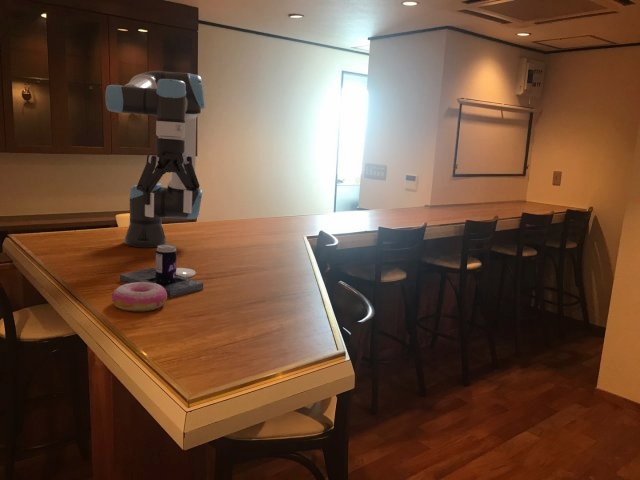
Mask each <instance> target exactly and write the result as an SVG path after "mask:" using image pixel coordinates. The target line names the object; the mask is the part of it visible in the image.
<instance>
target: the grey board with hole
mask: <svg viewBox="0 0 640 480" xmlns="http://www.w3.org/2000/svg"><path fill="white" fill-rule="evenodd" d="M119 281H120V282H122V283H125V284H129V283H135V282H150V283H156V267H149V268H146V269H140V270H136V271H130V272H126V273H121V274H119ZM156 284H157V283H156ZM159 285H160V284H159ZM161 286H162V287H163V288H165V290H166V292H167V299H173V298H176V297H181V296H184V295H188V294H190V293H191V294H192V293H195V292H199V291H203V290H204V282H201V281H198V280H195V279H192V278H190V277H188V278H186V277H182V276H179V275H176V283H173V284H169V285H165V286H163V285H161Z"/></svg>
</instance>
